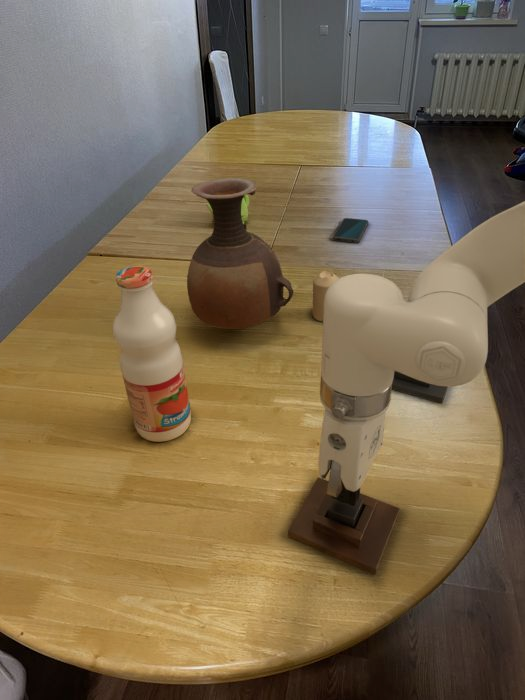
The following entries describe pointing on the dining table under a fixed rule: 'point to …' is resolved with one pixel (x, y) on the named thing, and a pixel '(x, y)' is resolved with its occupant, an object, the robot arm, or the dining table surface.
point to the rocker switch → (345, 512)
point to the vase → (233, 264)
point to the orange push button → (418, 387)
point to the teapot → (243, 208)
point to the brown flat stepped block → (345, 528)
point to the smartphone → (350, 230)
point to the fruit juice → (150, 358)
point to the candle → (321, 292)
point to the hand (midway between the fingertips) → (345, 497)
